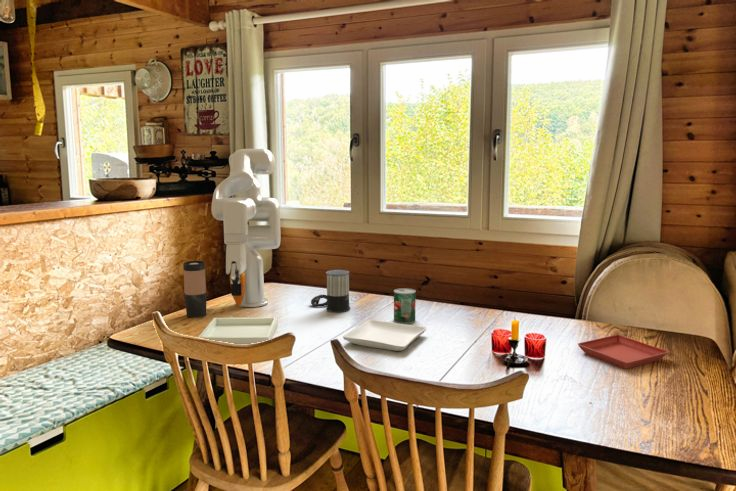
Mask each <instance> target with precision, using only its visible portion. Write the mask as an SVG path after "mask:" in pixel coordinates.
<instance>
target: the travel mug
mask: <svg viewBox="0 0 736 491" xmlns="http://www.w3.org/2000/svg"><path fill="white" fill-rule="evenodd" d="M182 265H183V266H182V268H183V286H184V288H183V289H184V303H185V312H186V317H187V318H191V319H194V318H195V319H197V318H203V317H205V316H207V284H206V269H205V268H206V267H205V261H202V260H188V261H184V262H183V263H182Z"/></svg>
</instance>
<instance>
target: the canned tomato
mask: <svg viewBox="0 0 736 491" xmlns="http://www.w3.org/2000/svg"><path fill="white" fill-rule="evenodd" d="M416 292H417V291H416V289H413V288H409V287H406V288H405V287H404V288H402V287H401V288H396V289H394V290H393V321H394V323H399V324H406V325H408V324H414V323H415V322H416V297H417V296H416V294H417V293H416Z"/></svg>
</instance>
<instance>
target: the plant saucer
mask: <svg viewBox="0 0 736 491" xmlns="http://www.w3.org/2000/svg"><path fill="white" fill-rule="evenodd" d="M577 345H578V347H579V348H580V349H581V350H582V352H584V354H586V355H588V356H591V357H594V358H596V359H599V360H601V361H603V362H606V363H609V364H612V365H614V366H617V367H619V368H622V369H625V370H627V369H632V368H636V367H639V366H643V365H646V364H650V363H654V362H657V361H660V360H661V359H663V358H664V357H665V356H666V355H667V354H669V351H668V350H665V349H663V348H660V347H656V346H653V345H650V344H648V343H644V342H641V341H639V340H637V339H636V340H635V339H633V338H630V337H627V336H624V335H620V334H613V335H609V336H604V337H600V338H595V339H591V340H587V341H583V342H578V343H577Z"/></svg>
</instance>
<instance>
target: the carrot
mask: <svg viewBox="0 0 736 491" xmlns="http://www.w3.org/2000/svg"><path fill="white" fill-rule="evenodd" d="M238 271H239V270H238ZM236 274H239V273H238V272H236ZM236 277H237V278H238V276H236ZM229 281H230V282H229V283H230V285H231V273H230V274H229ZM240 283H241V290H242V295H241V296H232V298H233V300H234V302H235V304H236V306H238V307H241V306H240V305H241V303H242V301H243V298H244V294H245V283H246V280H245V274H244V273H242V274H240Z"/></svg>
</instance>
